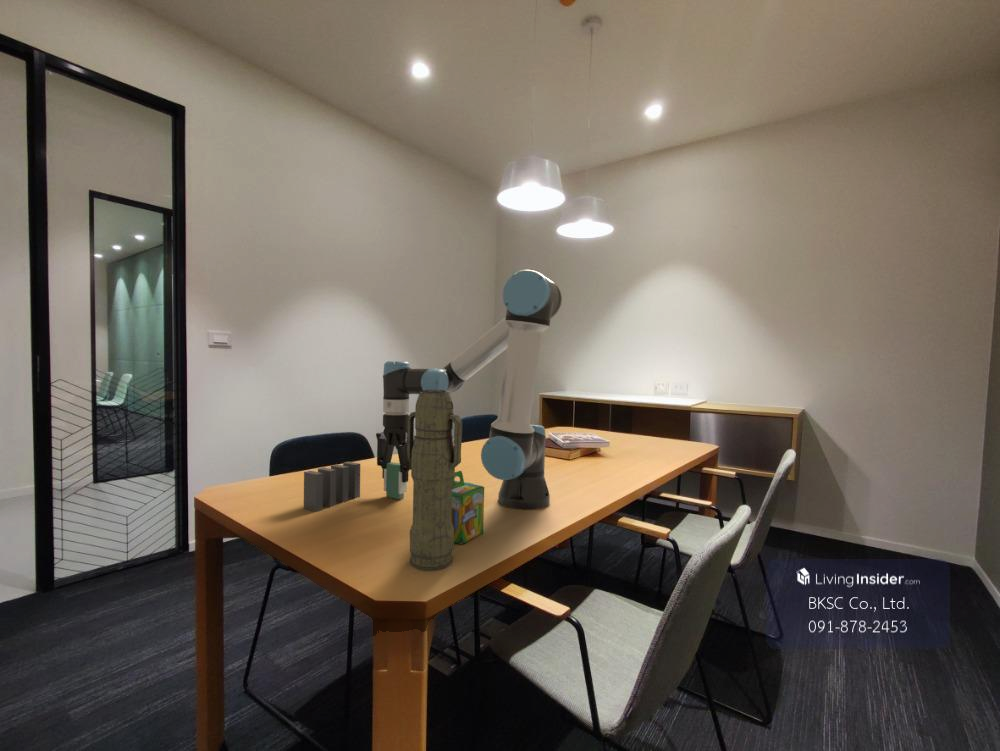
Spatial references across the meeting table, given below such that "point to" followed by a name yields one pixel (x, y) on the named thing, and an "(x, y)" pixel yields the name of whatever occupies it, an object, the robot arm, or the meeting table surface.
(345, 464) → the domino
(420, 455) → the thermos
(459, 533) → the chalk box
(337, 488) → the domino
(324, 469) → the domino
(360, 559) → the meeting table surface
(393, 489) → the green domino
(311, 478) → the domino
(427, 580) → the meeting table surface
